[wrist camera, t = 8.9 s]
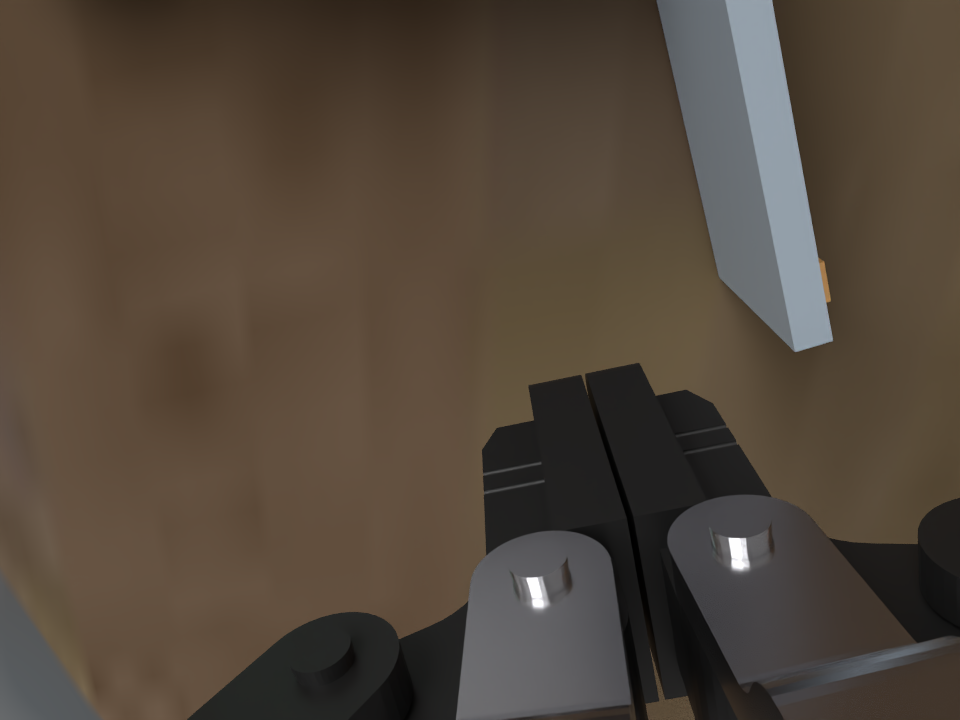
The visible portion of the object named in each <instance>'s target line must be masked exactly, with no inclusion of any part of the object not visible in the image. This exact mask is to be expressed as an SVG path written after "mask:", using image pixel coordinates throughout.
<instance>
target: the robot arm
mask: <svg viewBox="0 0 960 720" xmlns="http://www.w3.org/2000/svg"><path fill="white" fill-rule="evenodd" d="M585 378H586V385H587V391H588V395H587V392H586V389H585V385H584V382H583V379H582V376H581V375H577V376H573V377H568V378H563V379H558V380H553V381H548V382H543V383H538V384H533V385H528V386H529V392H530V398H531V404H532V410H533V416H534V421H529V422H524V423H520V424H515V425H510V426H505V427H500V428H497V429H496V430H495V432H494V433H493V434H492V436H491V437H490V439H489V440H488V442H487V443H486V445H485V446H484V448H483V449H482V458H483V474H484V476H483V483H484V493H485V495H484V508H485V532H486V557H484V558H483V559H482V560H481V562H480V563H479V564H478V566H477V567H476V569H475V571H474V573H473V575H472V579H471V583H470V592H469V601H468V602H467V603H466V604H465V605H464V606H463V607H461V608H460V609H459V610H457V611H456V612H455V613H453V614H452V615H450V616H448V617H447V618H445V619H444V620H442V621H440V622H438V623H436V624H433V625H431V626H429V627H427V628H425V629H422V630H420V631H418V632H415V633H413V634H411V635H408V636H406V637H404V638H401V639H398V636H397V633H396V631H395V630H394V628H393V627H392V626H391V625H390V624H389V623H388V622H387V621H385V620H384V619H382V618H380V617H378V616H375V615H372V614H368V613H360V612H345V613H338V614H332V615H329V616H325V617H321V618H318V619H316V620H313V621H311V622H308V623H306V624H304V625H302V626H300V627H298V628H296V629H295V630H293V631H291V632H290V633H288V634H287V635H285V636H284V637H283V638H281V639H280V640H279V641H277V642H276V643H275V644H274V645H273V646H272V647H270V648H269V649H268V650H267V651H266V652H265V653H263V654H262V655H261V656H260V657H259V658H258V659H256V660H255V661H254V662H253V663H252V664H251V665H250V666H248V667H247V668H246V669H245V670H244V671H243V672H241V673H240V674H239V675H238V676H237V677H236V678H234V679H233V680H232V681H231V682H230V683H229V684H228V685H226V686H225V687H224V688H223V689H222V690H221V691H219V692H218V693H217V694H216V695H215V696H214V697H212V698H211V699H210V700H209V701H208V702H207V703H205V704H204V705H203V706H202V707H201V708H200V709H199V710H197V711H196V712H195V713H194V714H193V715H192V716H190V717H189V718H188V719H187V720H648V716H647V710H646V705H645V704H646V703H651V702H657V701H659V697H658V692H657V686H656V680H655V675H654V669H653V663H652V658H651V652H652V656H653V659H654V662H655V666H656V669H657V673H658V676H659V680H660V683H661V686H662V690H663V693H664V697H665V700H666V699H672V698H677V697H683V696H688V698H689V701H690V704H691V707H692V710H693V713H694V716H695V720H960V498H958V499H954V500H951V501H948V502H946V503H943V504H941V505H939V506H937V507H935V508H934V509H932V510H931V511H930V512H929V513H927V514H926V515H925V517H924V518H923V519H922V521H921V523H920V525H919V528H918V544H871V543H854V542H847V541H840V540H835V539H831V538H828V537H827V536H826V534H825V533H824V532H823V531H822V530H821V529H820V527H819V526H818V525H817V524H816V523H815V521H814V520H813V519H812V518H811V517H810V516H809V515H808V514H807V513H806V512H805V511H803V510H802V509H800V508H799V507H797V506H795V505H793V504H791V503H789V502H786V501H783V500H780V499H777V498H772V497H771V495H770V494H769V492H768V490H767V489H766V487H765V486H764V484H763V482H762V481H761V479H760V478H759V476H758V474H757V473H756V471H755V470H754V468H753V466H752V465H751V463H750V462H749V460H748V459H747V457H746V455H745V454H744V452H743V451H742V449H741V447H740V446H739V444H738V445H737V443H736V439H735V438H734V436H733V435H732V433H731V432H730V430H729V428H726V424H725V422H724V420H723V419H722V417H721V416H720V414H719V412H718V411H717V409H716V408H715V406H714V404H713V403H711V402H709V401H707V400H705V399H703V398H701V397H699V396H697V395H695V394H693V393H692V392H690V391H688V390H683V391H678V392H673V393H668V394H663V395H658V396H655V394H654V392H653V390H652V388H651V386H650V384H649V382H648V380H647V378H646V376H645V374H644V371H643V369H642V367H641V365H640V364H639V363H636V364H631V365H626V366H621V367H616V368H611V369H606V370H601V371H596V372H591V373H587V374H585ZM588 397H589V398H588ZM649 645H650V646H649ZM650 649H651V652H650Z"/></svg>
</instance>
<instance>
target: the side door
mask: <svg viewBox="0 0 960 720" xmlns="http://www.w3.org/2000/svg"><path fill="white" fill-rule="evenodd" d="M657 5H658V9H659V13H660V18H661V22H662V27H663V31H664V36H665V40H666V44H667V49H668V53H669V58H670V62H671V67H672V71H673V75H674V80H675V84H676V89H677V93H678V98H679V102H680V106H681V111H682V115H683V120H684V124H685V129H686V133H687V137H688V142H689V146H690V151H691V155H692V160H693V164H694V168H695V173H696V177H697V182H698V186H699V191H700V195H701V199H702V204H703V208H704V213H705V217H706V221H707V226H708V230H709V235H710V239H711V244H712V248H713V252H714V257H715V261H716V266H717V270H718V275H719V278H720V279H721V280H722V281H723V282H724V283H725V284H726V285H727V286H728V287H729V288H730V289H731V290H732V291H734V292H735V293H736V294H737V295H738V296H739V297H740V298H741V299H742V300H743V301H744V302H745V303H746V304H747V305H748V306H749V307H750V308H751V309H752V310H753V311H754V312H755V313H756V314H757V315H758V316H759V317H760V318H761V319H762V320H763V321H764V322H765V323H766V324H767V325H768V326H769V327H770V328H771V329H772V330H773V331H774V332H775V333H776V334H777V335H778V336H779V337H780V338H781V339H782V340H783V341H784V342H785V343H786V344H787V345H788V346H789V347H790V348H791V349H792V350H793V351H794V352H798V351H801V350H804V349H808V348H811V347H814V346H818V345H821V344H824V343H828V342H831V341H833V338H832V332H831V327H830V321H829V316H828V310H827V304H826V303H827V302H830V301H831V298H830V292H829V286H828V281H827V275H826V269H825V264H824V261H822V260H821V259H819V258H818V254H817V249H816V243H815V237H814V232H813V226H812V221H811V215H810V210H809V204H808V198H807V193H806V187H805V182H804V176H803V171H802V165H801V159H800V154H799V148H798V143H797V137H796V131H795V126H794V120H793V115H792V109H791V104H790V98H789V92H788V87H787V81H786V76H785V70H784V65H783V59H782V53H781V48H780V42H779V37H778V31H777V26H776V20H775V14H774V9H773V3H772V0H657Z"/></svg>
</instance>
